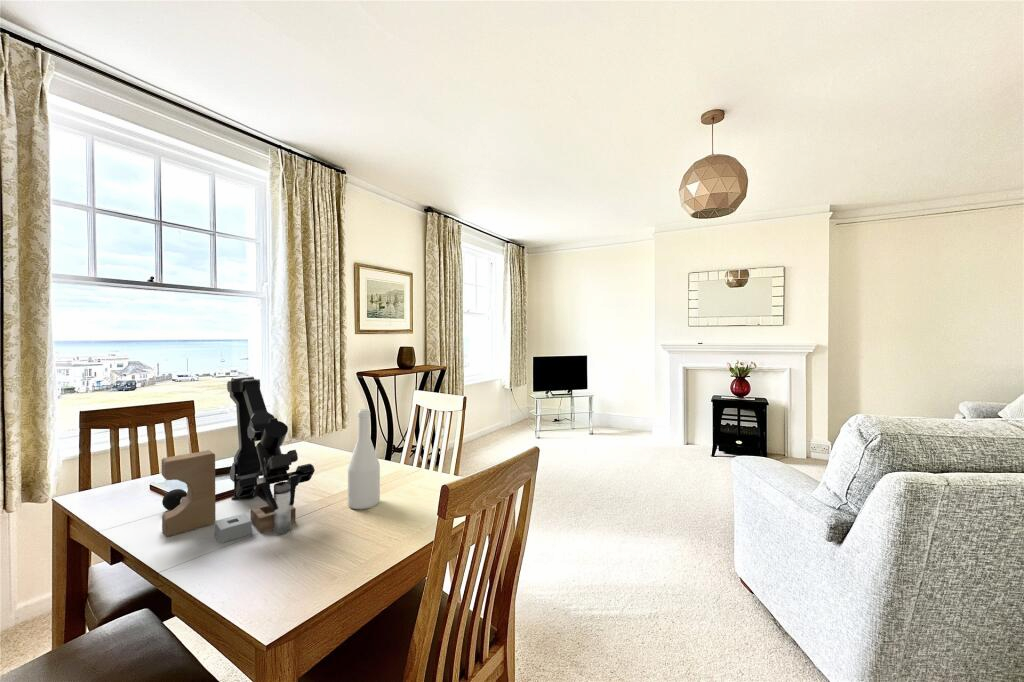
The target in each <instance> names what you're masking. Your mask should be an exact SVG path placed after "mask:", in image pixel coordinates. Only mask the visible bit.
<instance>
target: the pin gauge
mask: <svg viewBox="0 0 1024 682" xmlns="http://www.w3.org/2000/svg"><path fill="white" fill-rule="evenodd" d="M273 498H274V501H275V504H276V510H275V511H274V529H273V534H274V536H282V535H283V536H284V535H286V534H288V533H290V532H291V531H292V529H291V528H292V527H291V526H292V525H291V524H292V523H291V483H290V482H287V481H282V482H277V483H273Z"/></svg>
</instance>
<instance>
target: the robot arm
mask: <svg viewBox="0 0 1024 682" xmlns="http://www.w3.org/2000/svg"><path fill="white" fill-rule="evenodd" d="M226 388H227V392H228V393H229V397H230V399H231V401H233V403H234V404H235V406H236V407H235V408H236V409H235V410H236V420H237V423H236V426H237V436H238V449H237V451H236V453H235V455H234V456H233V462H232V464H231V467H230V470H229V478H230V481H232V482H233V492H234V493H233V496H232V497H231V498H230V499H231V500H251V499H254V498H255V497H258V498H259V499H261V500H262V501H263V502H265V504H268V505H269V506H270V507H271V508H272V509H273V510H274V511H275V510H276V504H275V501H274V494H273V493H272V491H271V490H272V489H271V485H274V484H276V483H279V482H290V483H291V506H293V507H294V504H295V498H296V496H295V495H296V489H297V486H299V484H301V483H305V482H308V481H310V480H311V479H312V478H313V475H314V473H315V471H316V470H315V466H314V465H313V464H312V463H307V464H301V465H297V467H296V469H295V471H291V472H288V471H290V469H291V468H290V466H291V465H292V463H296V462H297V461H298V459H299V458H298V452H297V449H292V450H289V451H287V452H286V453H282V450H281V446H282V445H283V444H284V441H285V439H286V436H287V434H288V431H289V428H288V425H287V424H286V423H284V422H283V421H280V420H278V417H276V418H275V416H274V415H273V414H272V413H270V412H269V411H268V409H267V407H266V404H265V400H264V397H263V394H262V391H261V379H258V378H255V376H240V377H239V376H238V377H232V378H231V379H230V380H229V381H227V383H226ZM255 442H258V443H255Z"/></svg>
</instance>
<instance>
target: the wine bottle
mask: <svg viewBox="0 0 1024 682" xmlns="http://www.w3.org/2000/svg"><path fill="white" fill-rule="evenodd" d="M357 417H358V427H357V428H358V431H357V432H358V435H357V438H356V439H357V440H356V442H355V446H354V448H353V452H352V455H351V457H350V460H349V464H348V466H347V504H348V507H349V508H350V509H353V510H366V509H367V510H368V509H371V508H373V507H375V506H376V505H378V504H379V503H380V500H381V499H380V498H381V490H380V489H381V487H380V486H381V484H380V483H381V482H380V481H381V473H380V472H381V470H380V469H381V465H380V462H379V458H378V455H377V454H376V450H375V447H374V444H373V441H372V439H371V429H370V426H371V425H370V417H371V411H370V409H369V408H361V409H359V410H358V412H357Z"/></svg>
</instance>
